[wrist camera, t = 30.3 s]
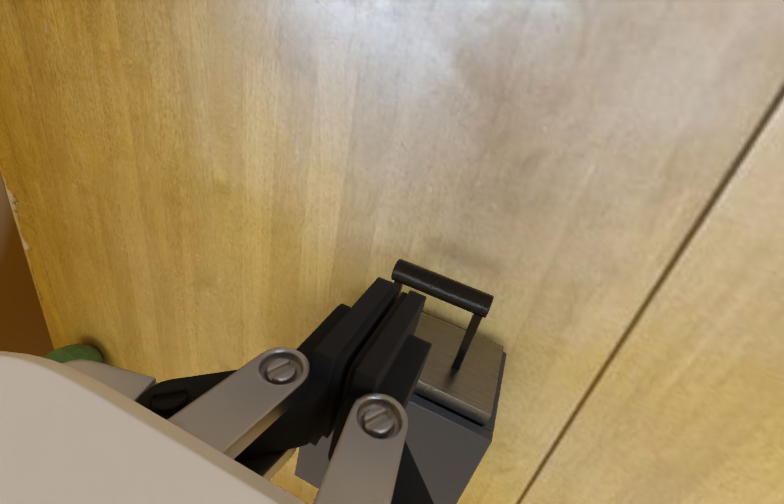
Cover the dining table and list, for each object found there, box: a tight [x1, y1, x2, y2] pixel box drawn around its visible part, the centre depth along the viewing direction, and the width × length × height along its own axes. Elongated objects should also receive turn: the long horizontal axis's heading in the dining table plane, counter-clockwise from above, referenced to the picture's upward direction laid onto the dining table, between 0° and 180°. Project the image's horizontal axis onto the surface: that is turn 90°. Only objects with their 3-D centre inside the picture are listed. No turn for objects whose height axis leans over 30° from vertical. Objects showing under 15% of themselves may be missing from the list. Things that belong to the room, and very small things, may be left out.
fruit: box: [42, 344, 103, 363], centre depth 56 cm, size 8×8×12 cm
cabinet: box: [295, 352, 506, 504], centre depth 34 cm, size 16×14×10 cm
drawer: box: [391, 259, 504, 426], centre depth 32 cm, size 21×12×8 cm, turn 166°
